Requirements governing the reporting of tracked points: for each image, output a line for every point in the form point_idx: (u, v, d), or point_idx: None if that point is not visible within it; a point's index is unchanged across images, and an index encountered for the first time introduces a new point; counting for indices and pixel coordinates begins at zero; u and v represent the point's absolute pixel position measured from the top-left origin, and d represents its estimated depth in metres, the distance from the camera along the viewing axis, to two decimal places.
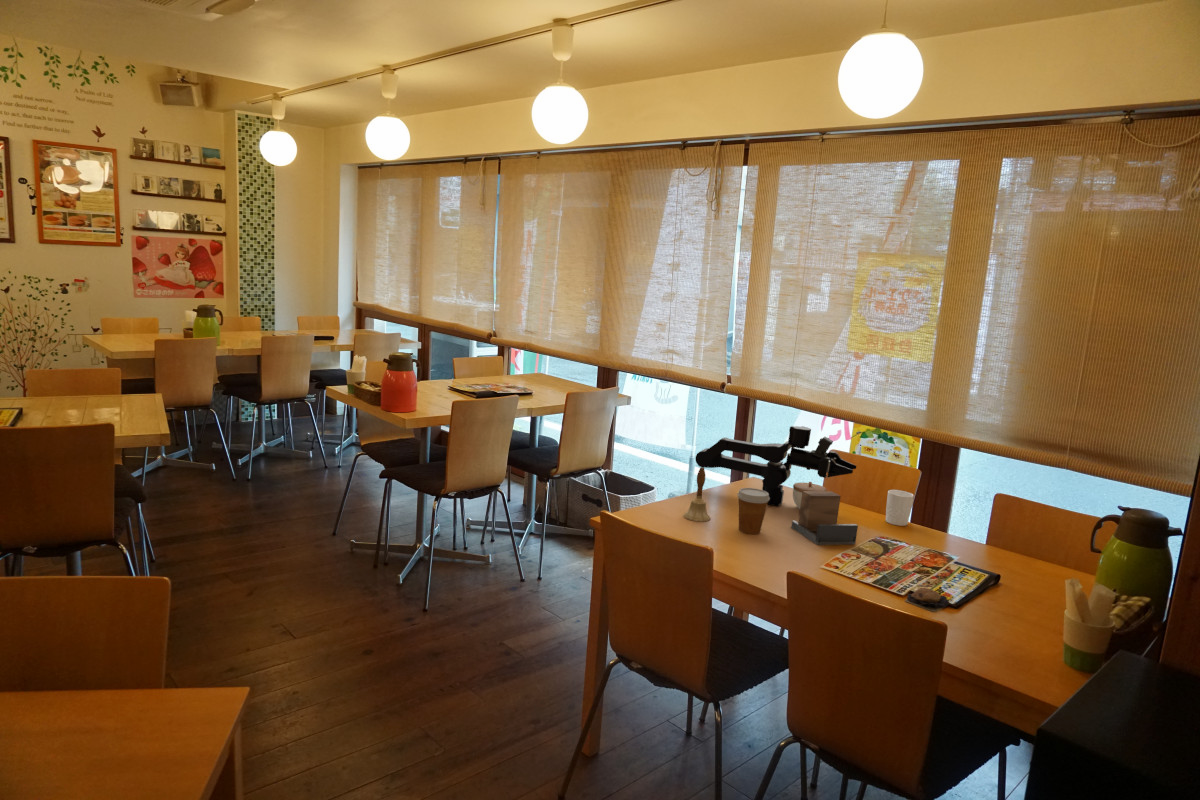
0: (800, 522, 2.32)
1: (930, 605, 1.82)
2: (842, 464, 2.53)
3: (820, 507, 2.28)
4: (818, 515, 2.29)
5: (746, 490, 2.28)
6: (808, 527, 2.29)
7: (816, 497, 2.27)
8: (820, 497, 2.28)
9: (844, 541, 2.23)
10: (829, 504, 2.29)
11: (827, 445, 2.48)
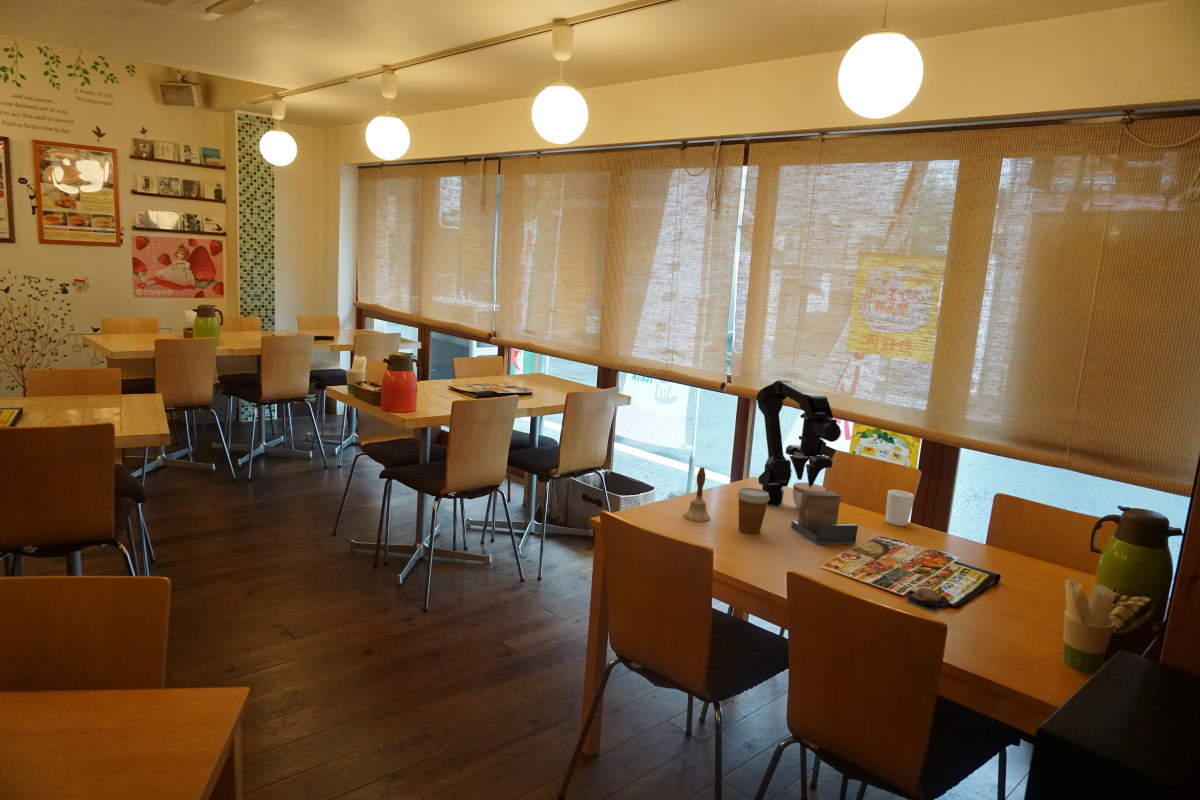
0: (800, 522, 2.32)
1: (930, 605, 1.81)
2: (801, 466, 2.45)
3: (820, 507, 2.28)
4: (818, 515, 2.29)
5: (746, 490, 2.28)
6: (808, 527, 2.29)
7: (816, 497, 2.27)
8: (820, 497, 2.28)
9: (844, 541, 2.23)
10: (829, 504, 2.29)
11: (830, 456, 2.40)
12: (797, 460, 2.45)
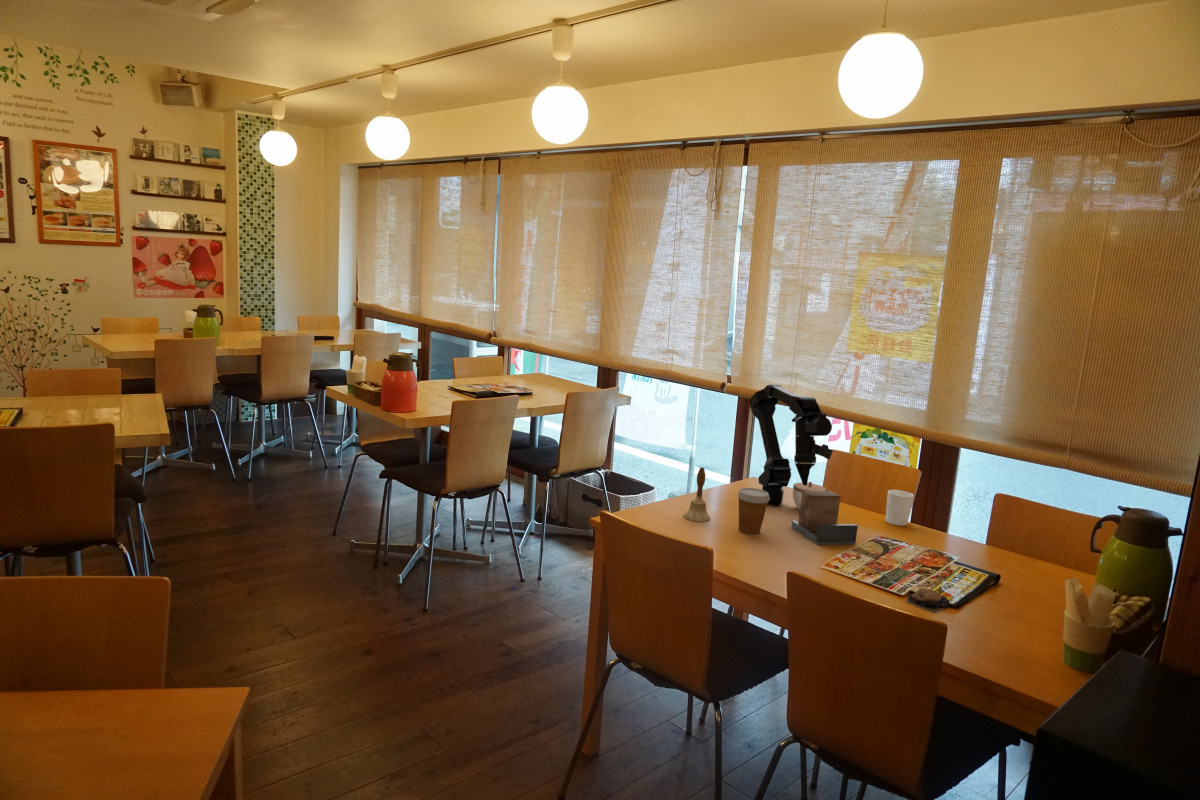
0: (800, 522, 2.32)
1: (931, 605, 1.81)
2: None
3: (820, 507, 2.28)
4: (818, 515, 2.29)
5: (746, 490, 2.28)
6: (808, 527, 2.29)
7: (816, 497, 2.27)
8: (820, 497, 2.28)
9: (844, 541, 2.23)
10: (829, 504, 2.29)
11: (825, 456, 2.38)
12: None
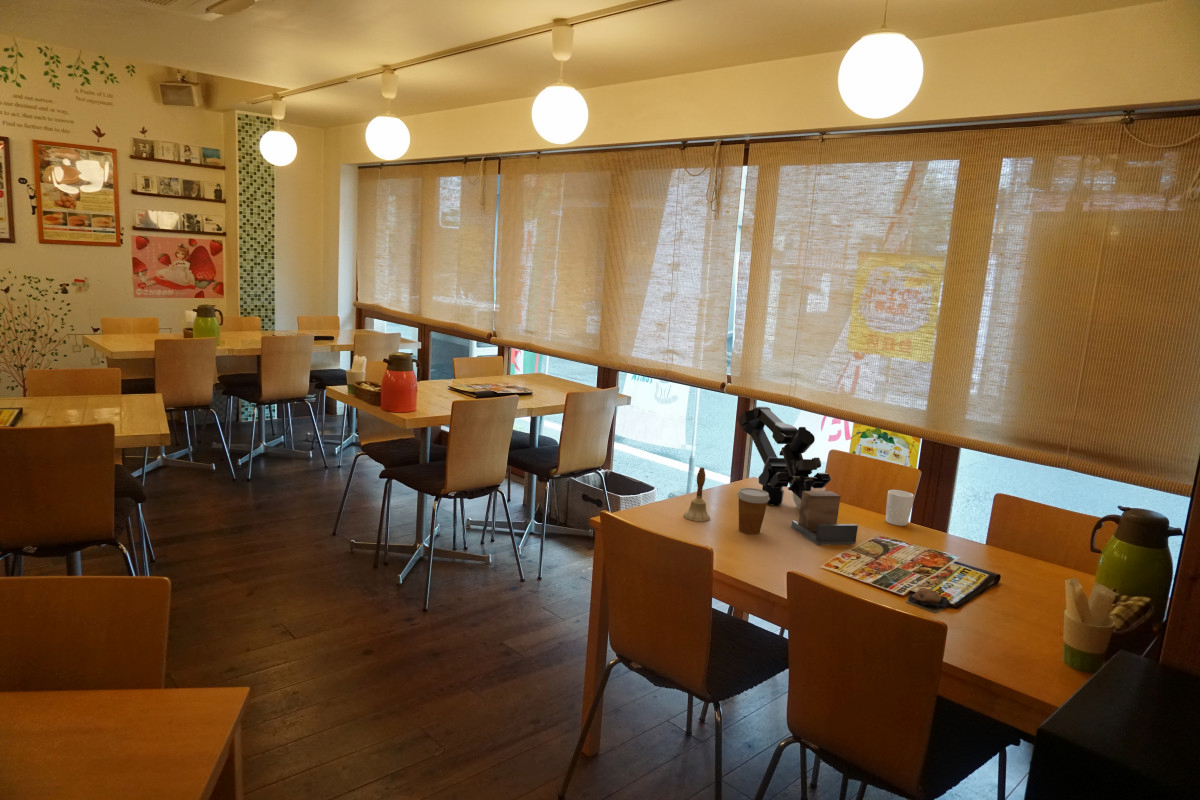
0: (800, 522, 2.32)
1: (931, 606, 1.81)
2: None
3: (820, 507, 2.28)
4: (818, 515, 2.29)
5: (746, 490, 2.28)
6: (808, 527, 2.29)
7: (816, 497, 2.27)
8: (820, 497, 2.28)
9: (844, 541, 2.23)
10: (829, 504, 2.29)
11: (802, 467, 2.37)
12: None
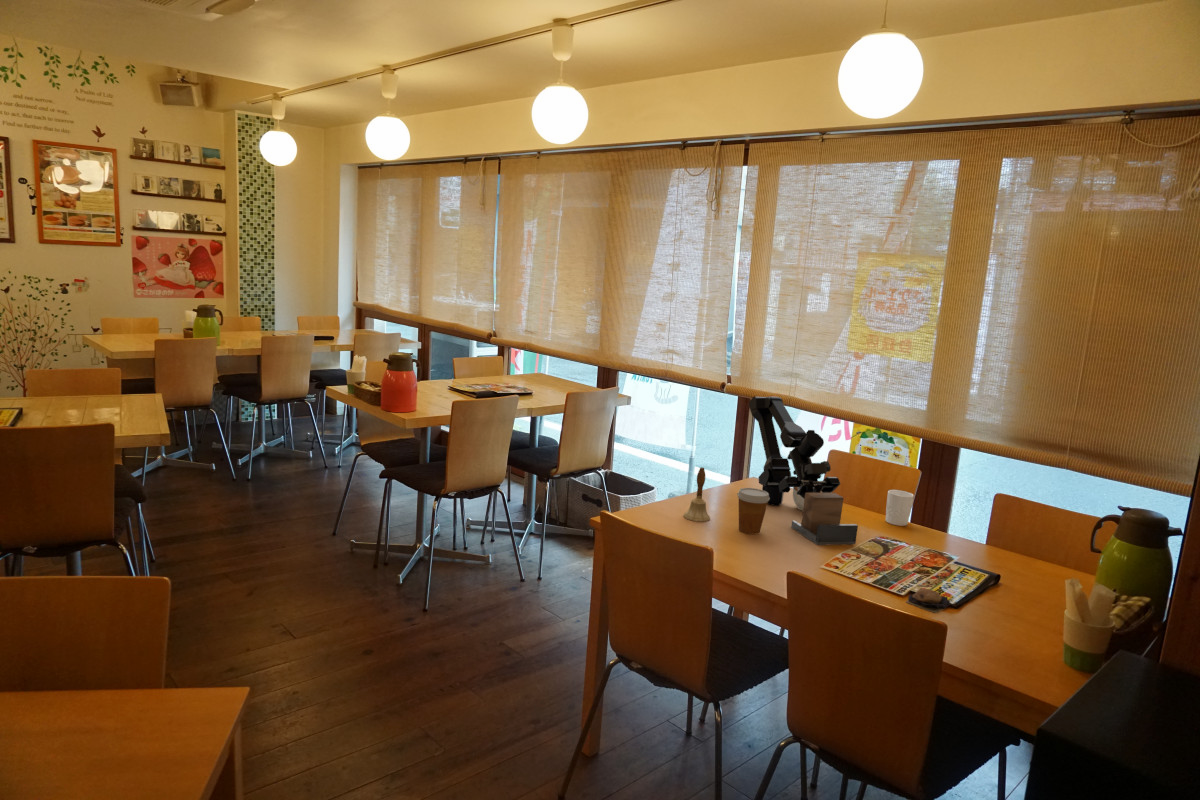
0: (803, 524, 2.30)
1: (931, 606, 1.81)
2: None
3: (823, 508, 2.27)
4: (821, 517, 2.27)
5: (746, 490, 2.28)
6: (811, 529, 2.27)
7: (819, 499, 2.26)
8: (823, 499, 2.26)
9: (844, 541, 2.23)
10: (832, 506, 2.28)
11: (811, 471, 2.32)
12: None
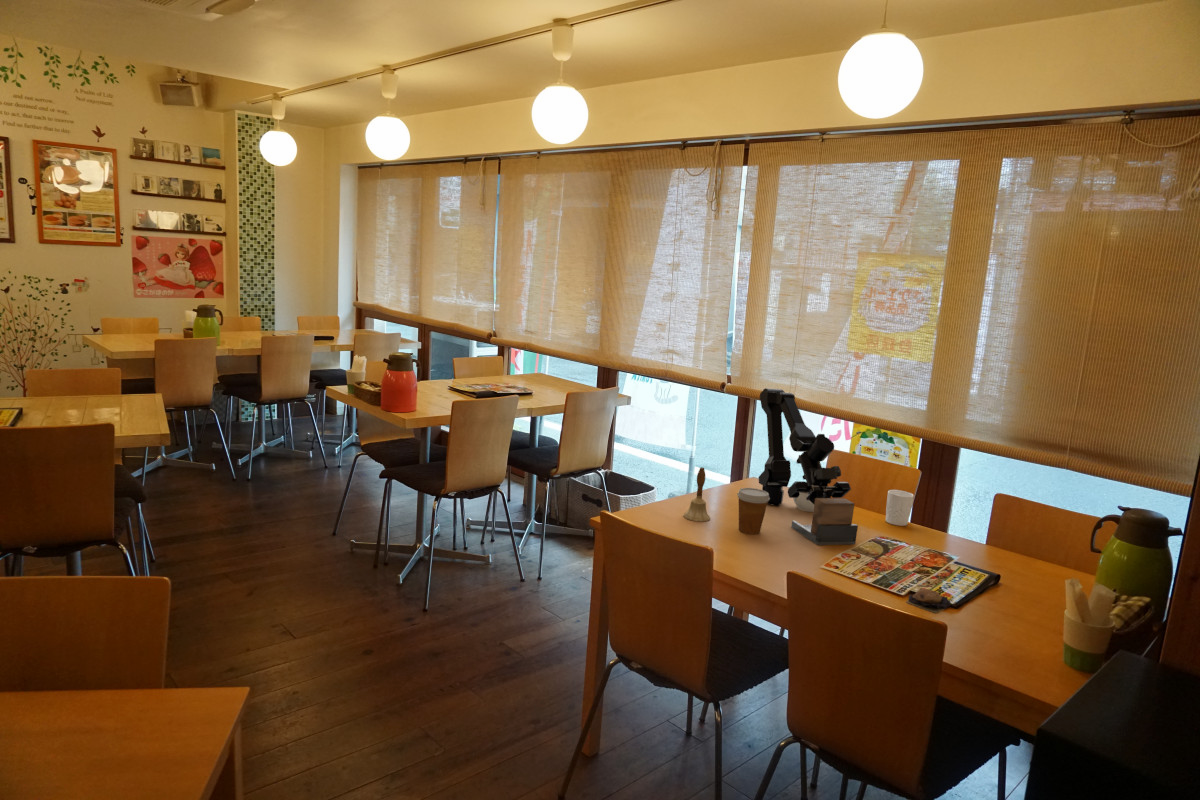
0: (813, 530, 2.25)
1: (932, 606, 1.81)
2: None
3: (834, 514, 2.22)
4: (831, 523, 2.22)
5: (746, 490, 2.28)
6: None
7: (829, 504, 2.21)
8: (833, 504, 2.21)
9: (844, 541, 2.23)
10: (842, 512, 2.22)
11: (821, 477, 2.27)
12: None
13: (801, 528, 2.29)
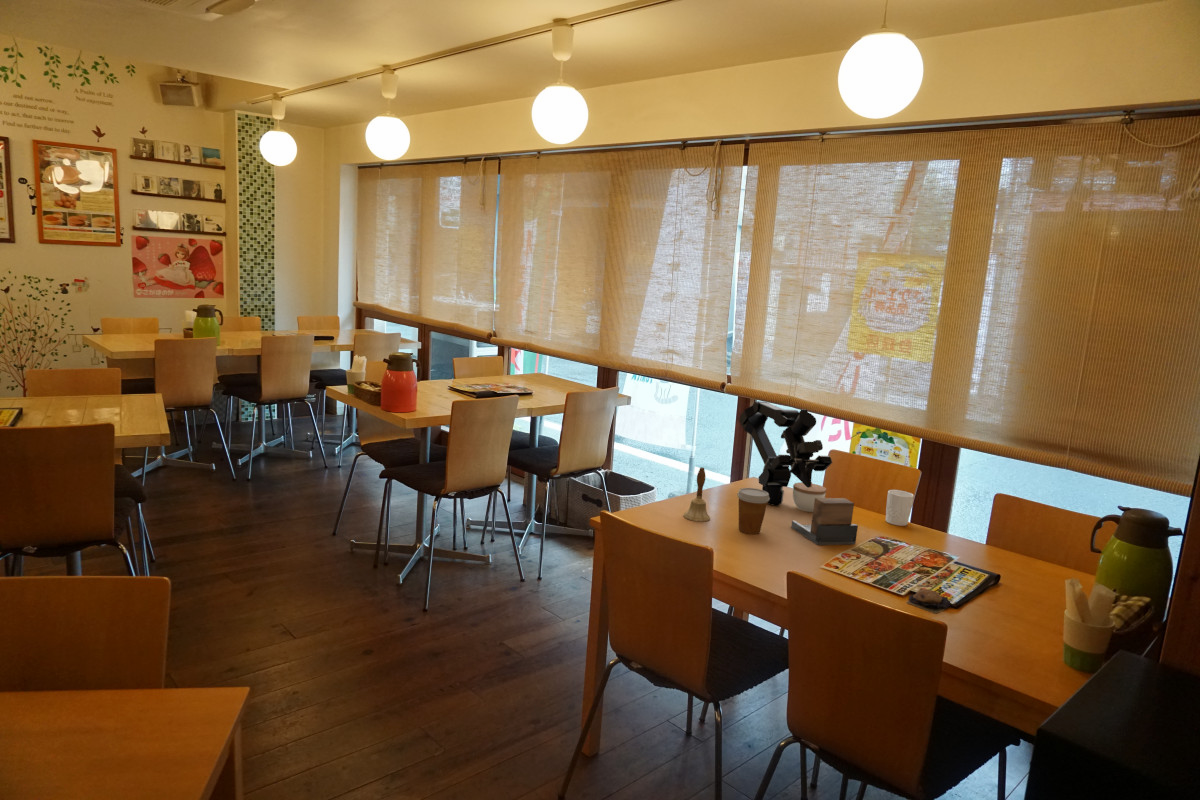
0: (812, 530, 2.25)
1: (932, 606, 1.81)
2: (806, 474, 2.40)
3: (833, 514, 2.22)
4: (831, 523, 2.22)
5: (746, 490, 2.28)
6: None
7: (829, 504, 2.21)
8: (833, 504, 2.21)
9: (844, 541, 2.23)
10: (842, 512, 2.22)
11: (803, 450, 2.37)
12: None
13: (801, 528, 2.29)
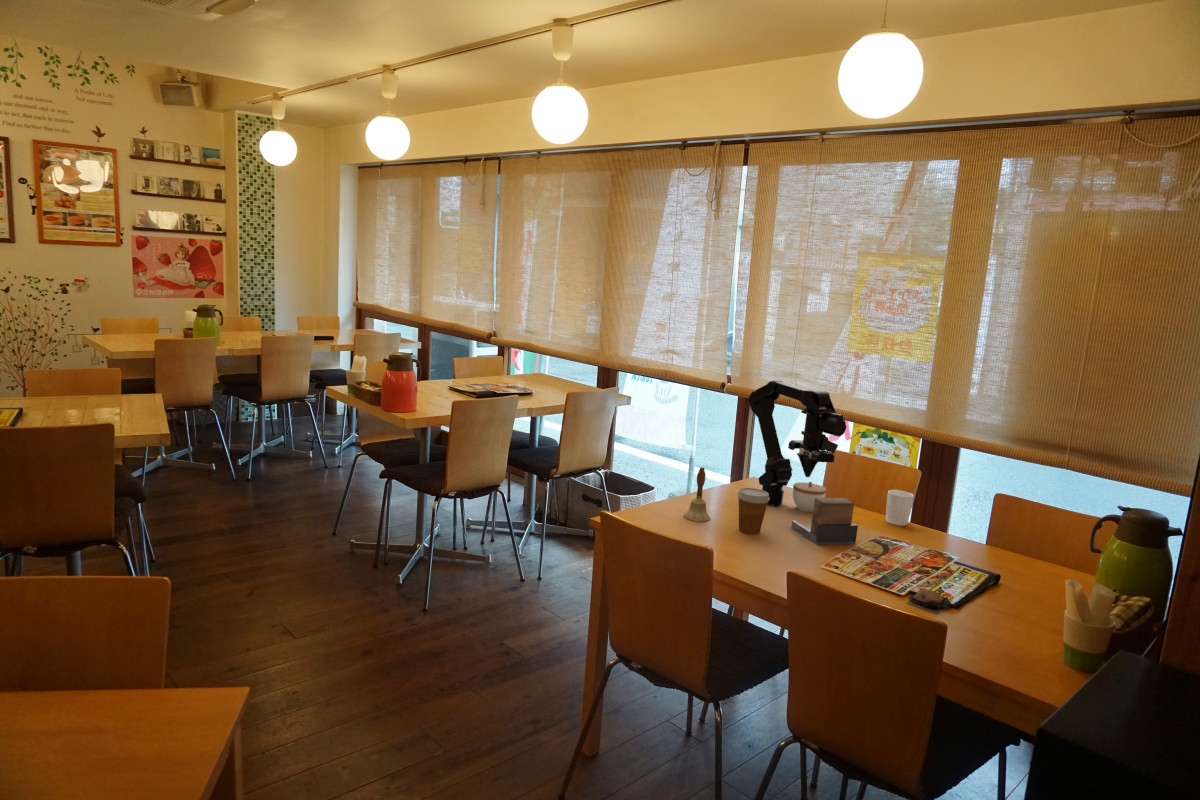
0: (812, 530, 2.25)
1: (933, 607, 1.81)
2: None
3: (833, 514, 2.22)
4: (831, 523, 2.22)
5: (746, 490, 2.28)
6: None
7: (829, 504, 2.21)
8: (833, 504, 2.21)
9: (844, 541, 2.23)
10: (842, 512, 2.22)
11: (832, 450, 2.44)
12: (804, 457, 2.45)
13: (801, 528, 2.29)
